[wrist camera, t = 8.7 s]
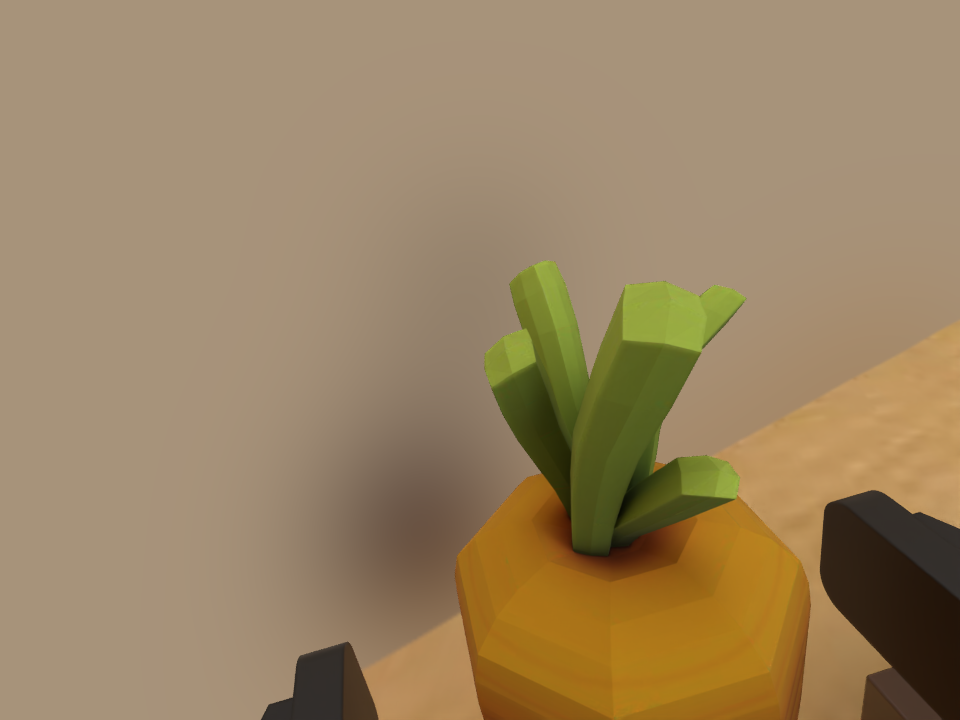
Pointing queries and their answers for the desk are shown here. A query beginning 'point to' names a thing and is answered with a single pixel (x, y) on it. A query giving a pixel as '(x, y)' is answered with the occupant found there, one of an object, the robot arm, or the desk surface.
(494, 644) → the carrot
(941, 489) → the desk surface
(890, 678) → the corner stop
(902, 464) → the desk surface
